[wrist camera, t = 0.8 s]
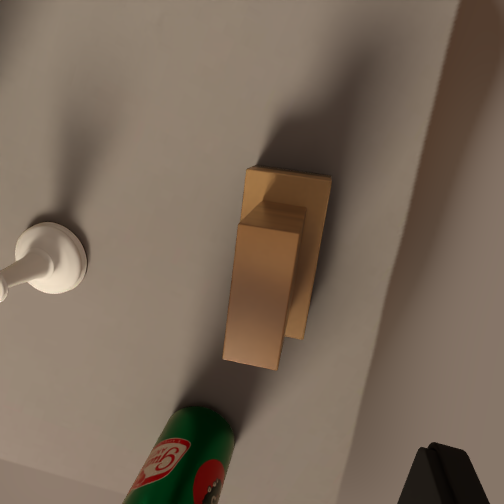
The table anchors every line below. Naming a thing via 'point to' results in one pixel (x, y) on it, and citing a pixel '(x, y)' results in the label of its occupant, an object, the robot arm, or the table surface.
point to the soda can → (186, 460)
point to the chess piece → (46, 260)
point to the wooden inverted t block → (274, 262)
